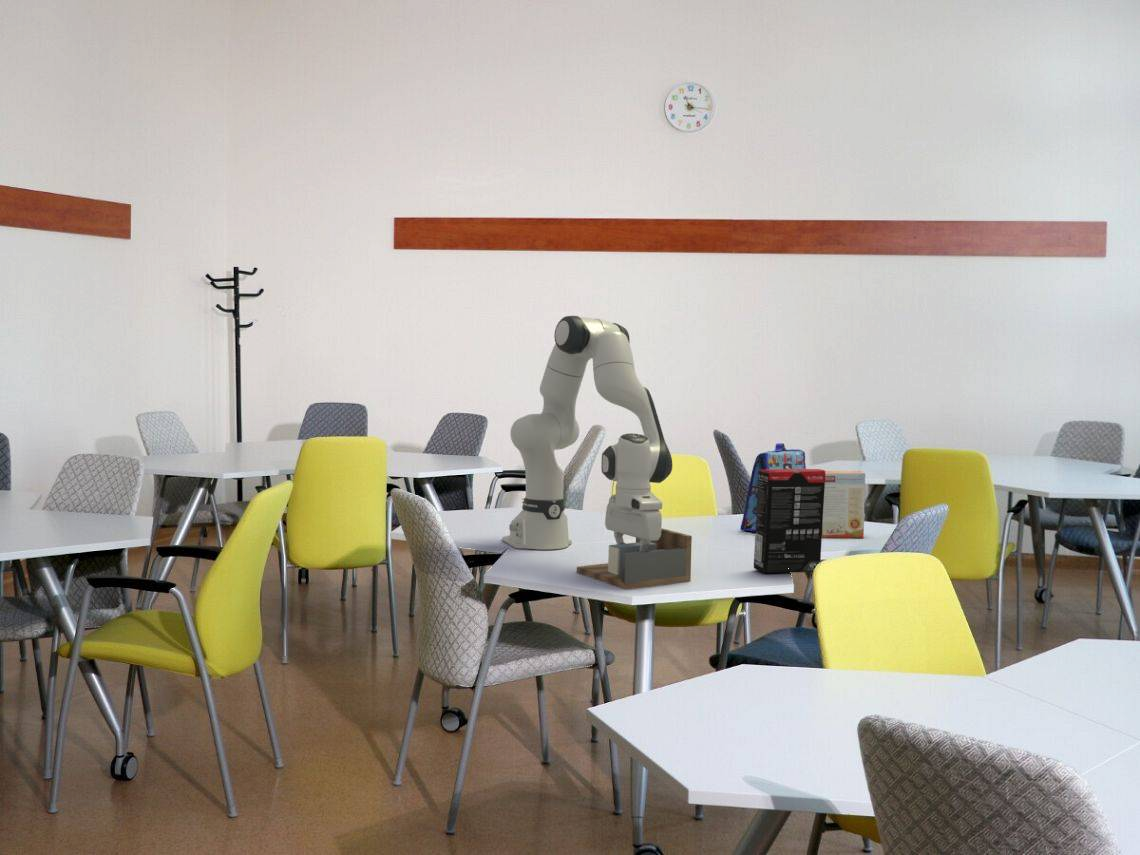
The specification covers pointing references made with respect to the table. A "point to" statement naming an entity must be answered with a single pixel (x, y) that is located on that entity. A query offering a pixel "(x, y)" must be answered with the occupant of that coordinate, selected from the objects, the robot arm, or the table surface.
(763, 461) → the lunch bag
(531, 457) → the robot arm
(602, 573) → the shelf
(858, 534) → the cracker box
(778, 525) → the graphics card box
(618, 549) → the grey rectangular box
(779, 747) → the table surface
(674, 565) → the grey thin upright panel
